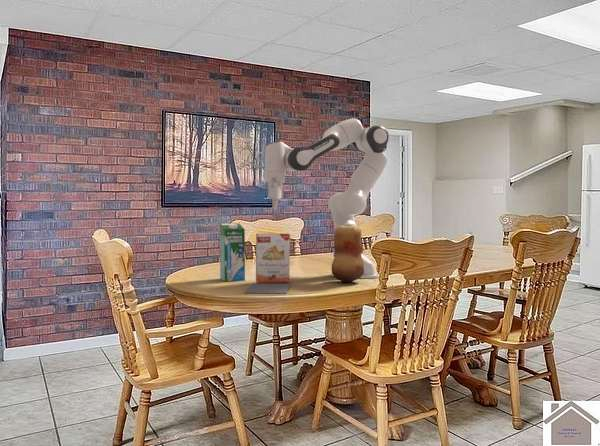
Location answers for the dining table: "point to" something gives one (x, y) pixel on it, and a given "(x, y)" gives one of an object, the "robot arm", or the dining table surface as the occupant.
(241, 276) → the milk carton
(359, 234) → the butternut squash
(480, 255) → the dining table surface
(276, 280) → the cracker box
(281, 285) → the mat
